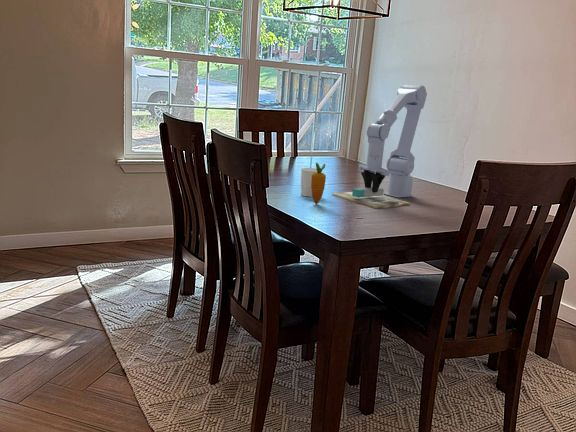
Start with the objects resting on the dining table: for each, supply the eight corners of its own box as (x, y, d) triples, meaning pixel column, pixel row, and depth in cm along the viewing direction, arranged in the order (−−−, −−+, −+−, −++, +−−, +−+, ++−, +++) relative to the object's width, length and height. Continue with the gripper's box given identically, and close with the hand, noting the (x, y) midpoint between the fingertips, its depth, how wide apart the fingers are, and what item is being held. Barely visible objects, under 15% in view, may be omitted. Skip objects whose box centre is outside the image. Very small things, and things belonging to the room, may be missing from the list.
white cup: (302, 197, 200) (304, 170, 197) (296, 192, 207) (298, 167, 205) (322, 197, 202) (324, 171, 200) (315, 193, 209) (318, 168, 207)
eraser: (378, 193, 208) (379, 186, 207) (384, 195, 205) (385, 188, 205) (352, 195, 199) (352, 188, 199) (358, 197, 197) (358, 190, 196)
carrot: (322, 203, 192) (326, 162, 188) (324, 206, 187) (327, 164, 183) (308, 202, 191) (312, 161, 188) (309, 205, 186) (313, 163, 183)
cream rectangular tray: (365, 192, 218) (365, 188, 218) (410, 205, 200) (410, 200, 199) (332, 195, 208) (332, 190, 207) (376, 208, 189) (376, 203, 189)
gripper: (354, 153, 203) (350, 188, 206) (381, 159, 192) (377, 195, 195) (367, 153, 207) (363, 187, 210) (395, 158, 196) (390, 194, 199)
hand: (371, 191), depth 203 cm, fingers closed on eraser, 3 cm apart
